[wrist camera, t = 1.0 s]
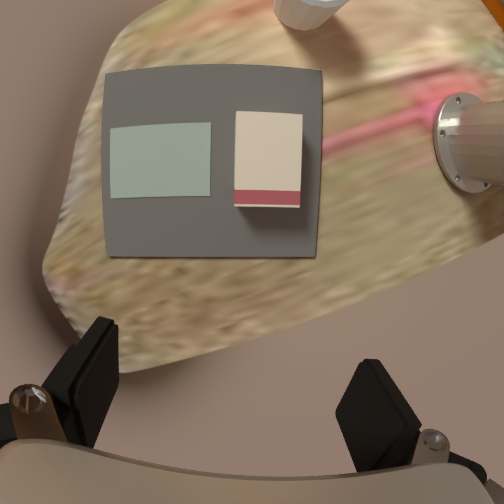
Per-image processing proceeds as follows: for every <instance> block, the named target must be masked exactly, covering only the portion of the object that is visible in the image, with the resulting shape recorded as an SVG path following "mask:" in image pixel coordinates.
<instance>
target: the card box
mask: <svg viewBox="0 0 504 504" xmlns="http://www.w3.org/2000/svg"><path fill="white" fill-rule="evenodd" d="M302 121H303V115H302V114H289V113H274V112H250V111H236V119H235V163H234V206H245V207H297V208H300V187H301V160H302Z"/></svg>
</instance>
